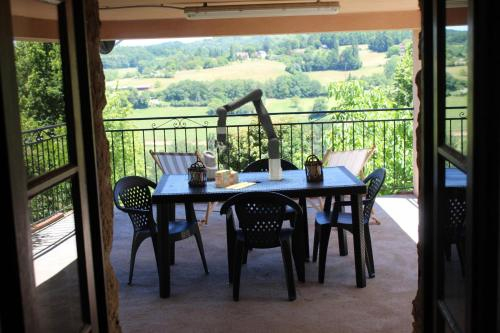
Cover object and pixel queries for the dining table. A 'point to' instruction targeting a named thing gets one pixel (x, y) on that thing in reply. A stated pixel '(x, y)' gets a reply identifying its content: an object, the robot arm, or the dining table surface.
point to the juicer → (209, 165)
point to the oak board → (240, 185)
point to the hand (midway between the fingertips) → (222, 153)
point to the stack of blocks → (226, 178)
